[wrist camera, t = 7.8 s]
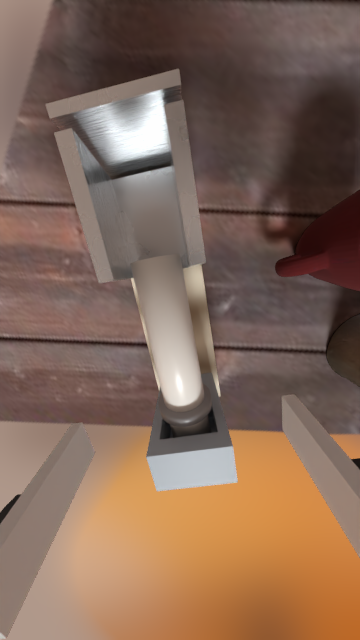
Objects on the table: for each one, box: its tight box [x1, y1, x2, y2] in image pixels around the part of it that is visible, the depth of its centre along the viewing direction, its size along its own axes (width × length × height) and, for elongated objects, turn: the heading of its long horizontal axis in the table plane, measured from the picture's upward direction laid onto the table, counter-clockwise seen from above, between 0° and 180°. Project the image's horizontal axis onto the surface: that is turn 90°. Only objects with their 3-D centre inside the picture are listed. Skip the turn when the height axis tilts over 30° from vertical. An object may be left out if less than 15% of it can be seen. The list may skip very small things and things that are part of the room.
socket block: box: [146, 372, 238, 491], centre depth 20 cm, size 4×7×10 cm, turn 101°
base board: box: [131, 265, 220, 396], centre depth 22 cm, size 28×8×1 cm, turn 10°
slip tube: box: [130, 254, 212, 438], centre depth 16 cm, size 18×5×5 cm, turn 10°
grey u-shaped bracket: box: [45, 69, 206, 283], centre depth 15 cm, size 9×7×10 cm
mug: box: [275, 190, 360, 291], centre depth 16 cm, size 11×8×10 cm
